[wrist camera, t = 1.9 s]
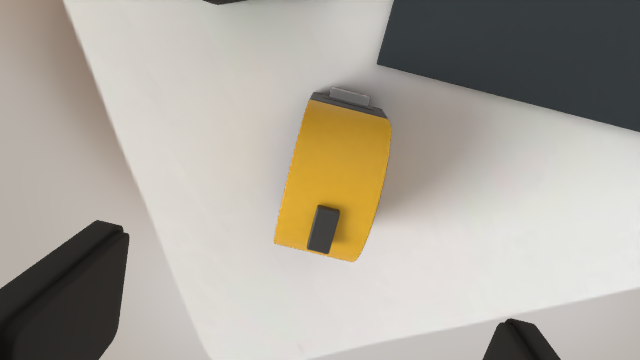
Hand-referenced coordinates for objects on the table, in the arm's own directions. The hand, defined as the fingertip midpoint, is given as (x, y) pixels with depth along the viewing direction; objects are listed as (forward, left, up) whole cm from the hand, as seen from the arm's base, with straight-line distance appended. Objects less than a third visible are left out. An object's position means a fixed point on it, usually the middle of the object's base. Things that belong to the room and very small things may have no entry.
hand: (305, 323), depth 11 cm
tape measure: (0, 0, -15) cm, 15 cm away
